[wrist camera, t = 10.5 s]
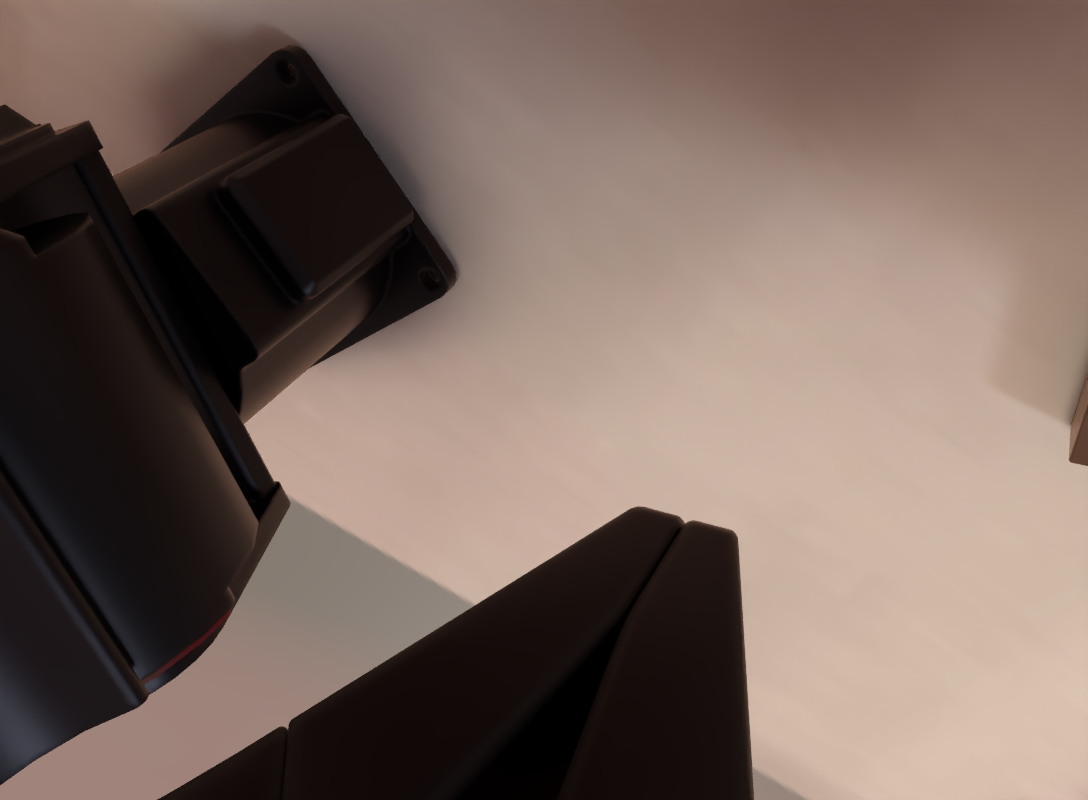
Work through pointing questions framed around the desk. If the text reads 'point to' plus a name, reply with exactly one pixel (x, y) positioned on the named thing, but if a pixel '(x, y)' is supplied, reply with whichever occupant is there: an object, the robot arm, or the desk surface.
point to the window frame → (1080, 431)
